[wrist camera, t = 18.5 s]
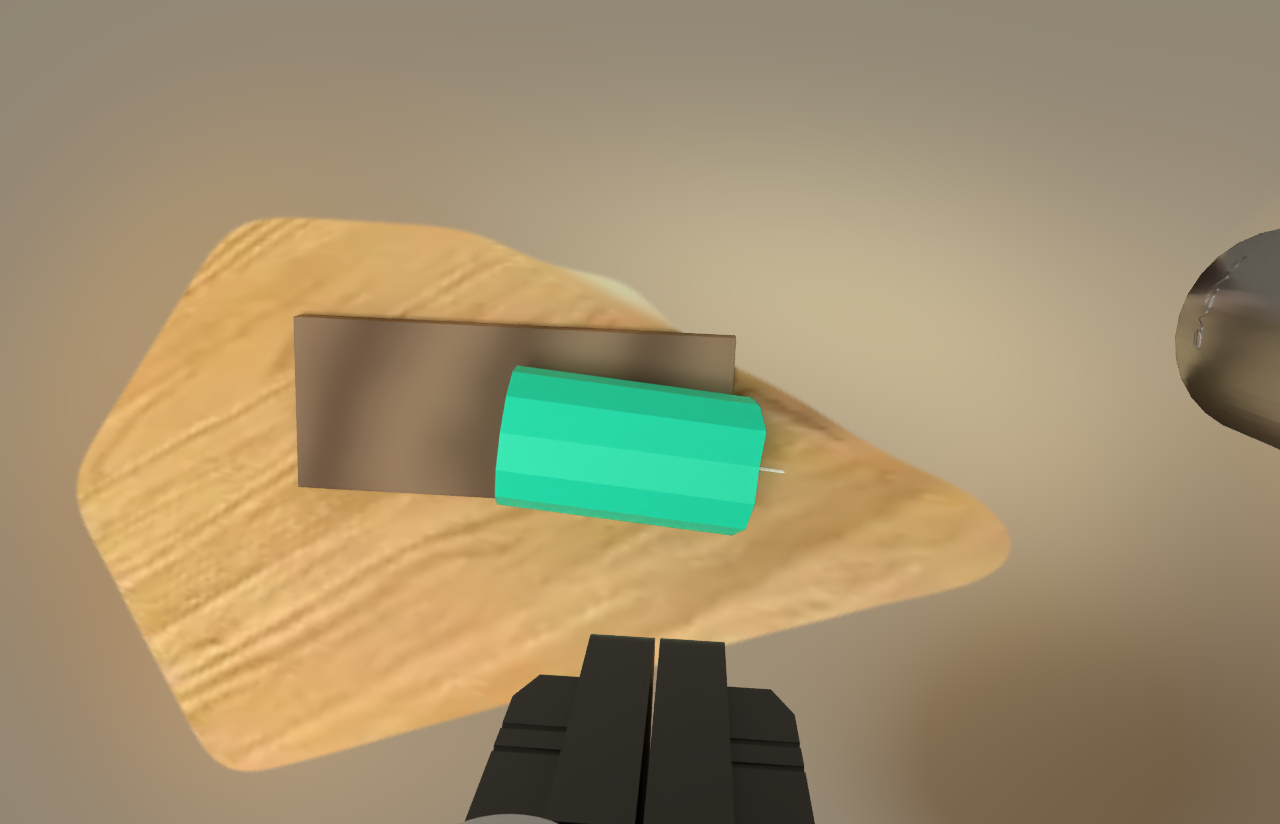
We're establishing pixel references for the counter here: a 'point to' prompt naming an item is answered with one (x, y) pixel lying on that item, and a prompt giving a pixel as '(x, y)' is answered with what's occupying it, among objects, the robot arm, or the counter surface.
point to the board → (454, 392)
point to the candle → (629, 451)
